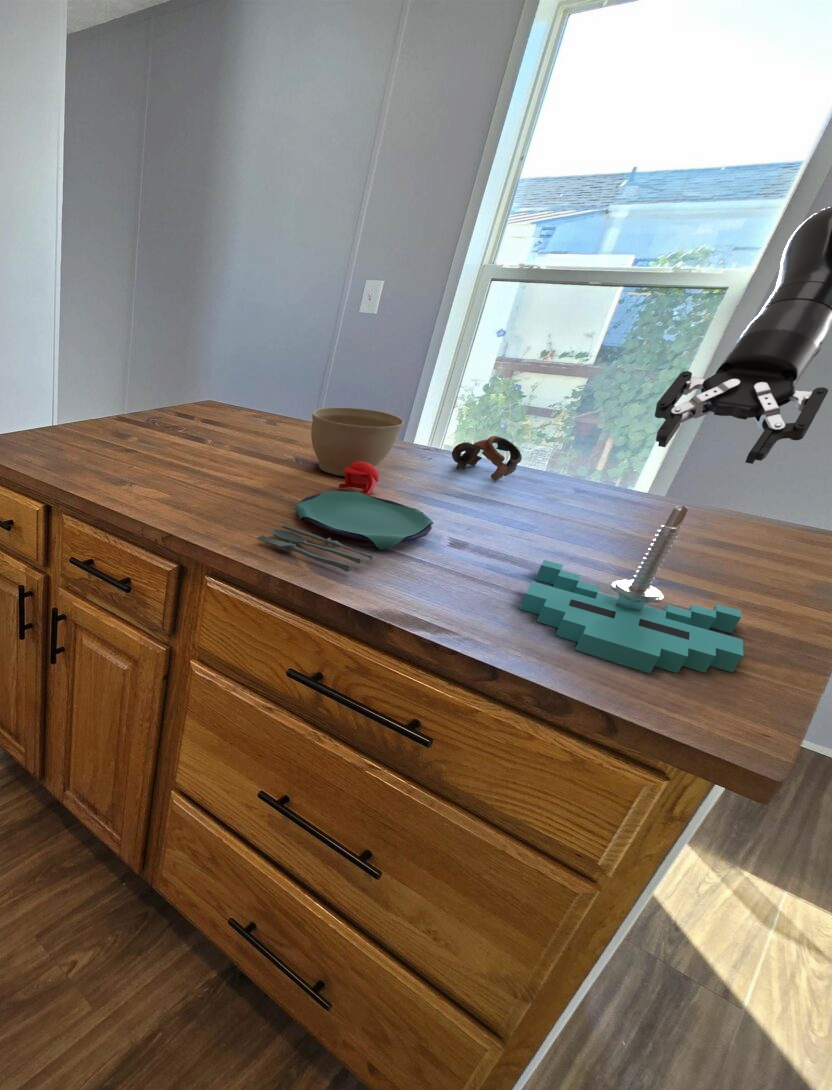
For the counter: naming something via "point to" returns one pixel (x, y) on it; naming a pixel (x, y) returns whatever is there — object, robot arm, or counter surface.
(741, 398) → the robot arm
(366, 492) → the cap
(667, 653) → the alien figure
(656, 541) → the screw
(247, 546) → the counter surface
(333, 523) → the cutlery set
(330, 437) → the planter bowl
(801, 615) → the counter surface
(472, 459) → the brown looped twisted part
